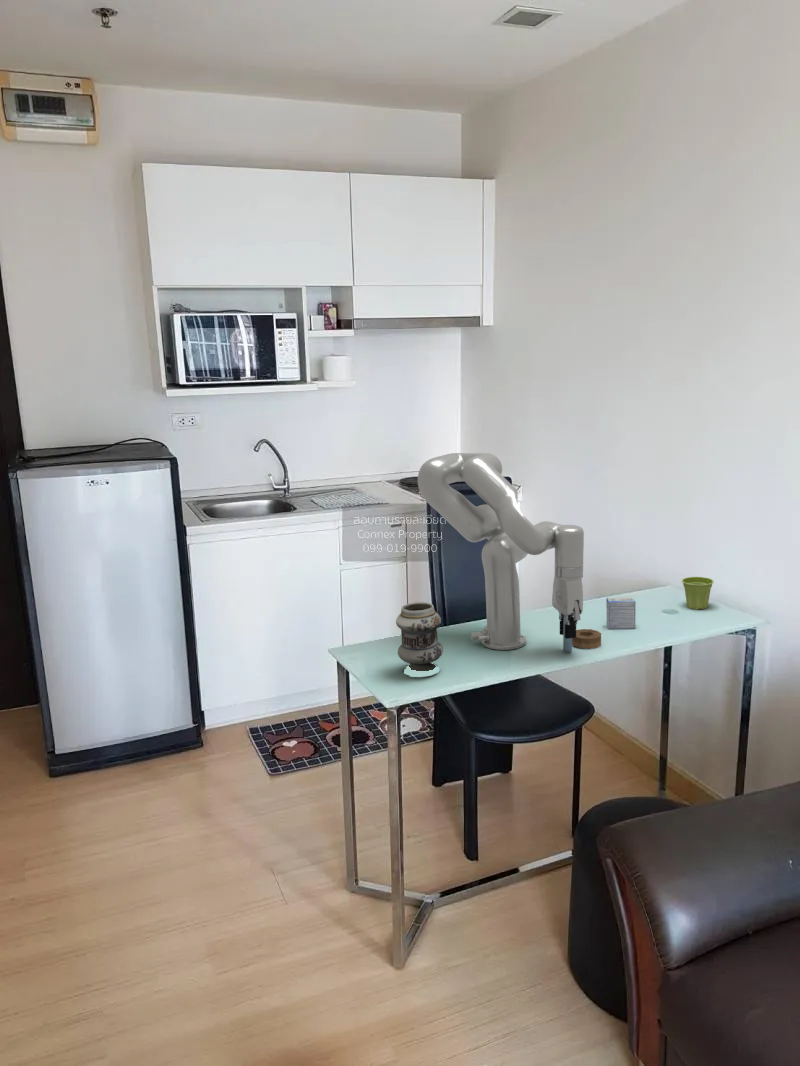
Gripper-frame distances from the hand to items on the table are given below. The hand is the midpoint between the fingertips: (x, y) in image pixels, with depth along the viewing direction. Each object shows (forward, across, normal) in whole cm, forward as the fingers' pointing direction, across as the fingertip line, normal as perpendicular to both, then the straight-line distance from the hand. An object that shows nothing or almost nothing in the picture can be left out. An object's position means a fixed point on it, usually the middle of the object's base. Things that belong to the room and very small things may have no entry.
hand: (567, 635), depth 222 cm
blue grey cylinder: (+4, 0, 0) cm, 4 cm away
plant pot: (+4, -21, +55) cm, 59 cm away
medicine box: (+5, -13, +24) cm, 28 cm away
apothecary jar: (+6, -1, -41) cm, 42 cm away
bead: (+5, -4, +8) cm, 10 cm away
